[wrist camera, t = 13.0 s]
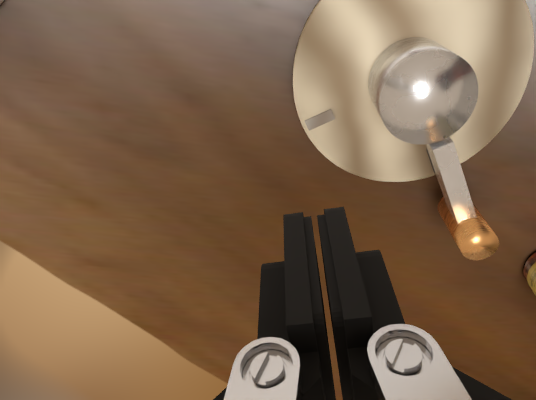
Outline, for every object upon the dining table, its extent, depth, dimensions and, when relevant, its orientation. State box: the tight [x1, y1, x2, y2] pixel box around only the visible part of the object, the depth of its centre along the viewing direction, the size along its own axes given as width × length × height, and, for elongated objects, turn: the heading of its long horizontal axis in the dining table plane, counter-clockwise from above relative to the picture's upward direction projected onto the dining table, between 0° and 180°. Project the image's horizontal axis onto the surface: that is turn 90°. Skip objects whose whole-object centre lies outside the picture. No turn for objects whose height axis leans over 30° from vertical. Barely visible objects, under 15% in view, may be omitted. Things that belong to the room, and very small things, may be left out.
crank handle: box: [368, 37, 499, 260], centre depth 34 cm, size 18×7×8 cm, turn 27°
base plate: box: [293, 0, 534, 182], centre depth 36 cm, size 20×20×2 cm
